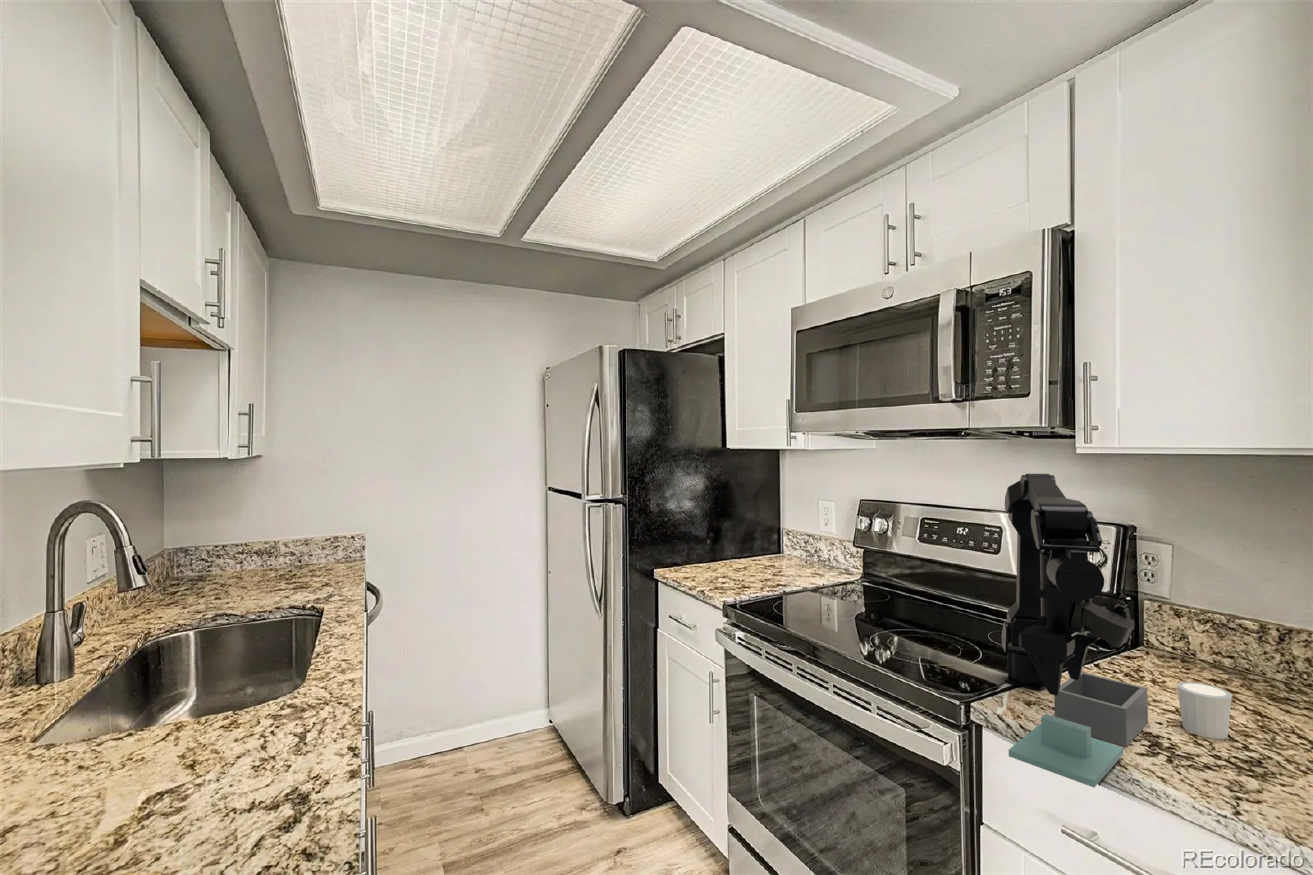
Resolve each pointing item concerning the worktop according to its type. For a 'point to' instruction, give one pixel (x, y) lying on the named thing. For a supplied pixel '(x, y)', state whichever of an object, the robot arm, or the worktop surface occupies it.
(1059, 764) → the lid
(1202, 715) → the white cup
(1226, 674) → the worktop surface
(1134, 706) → the tub
